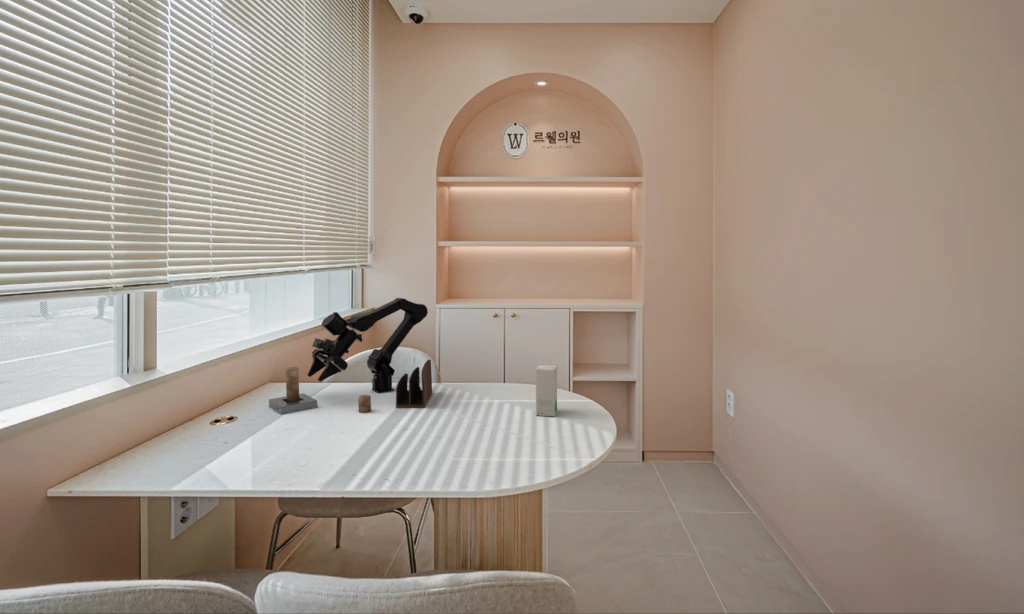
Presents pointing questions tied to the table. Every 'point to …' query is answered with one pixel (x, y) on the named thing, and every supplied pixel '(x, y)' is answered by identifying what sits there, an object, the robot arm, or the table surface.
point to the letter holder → (415, 388)
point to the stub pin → (364, 403)
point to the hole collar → (292, 404)
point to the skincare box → (546, 390)
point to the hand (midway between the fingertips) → (313, 378)
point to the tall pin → (292, 384)
